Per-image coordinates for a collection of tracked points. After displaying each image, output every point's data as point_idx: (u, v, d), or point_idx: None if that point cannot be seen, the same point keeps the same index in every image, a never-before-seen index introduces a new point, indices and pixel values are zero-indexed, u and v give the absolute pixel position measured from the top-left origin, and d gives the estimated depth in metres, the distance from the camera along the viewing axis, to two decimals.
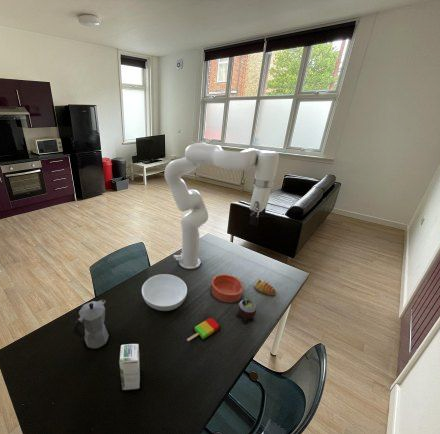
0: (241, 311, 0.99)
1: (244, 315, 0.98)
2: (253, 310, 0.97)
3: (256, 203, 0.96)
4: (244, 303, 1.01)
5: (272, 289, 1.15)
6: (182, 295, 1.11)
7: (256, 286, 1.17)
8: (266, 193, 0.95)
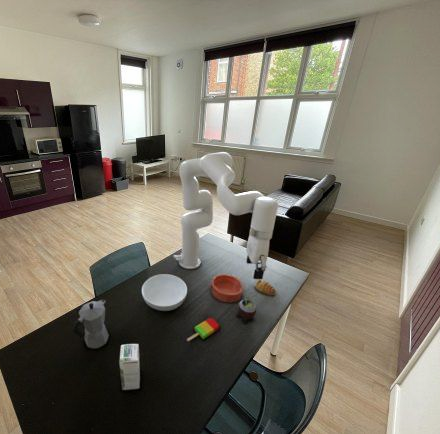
0: (241, 311, 0.99)
1: (244, 315, 0.98)
2: (253, 310, 0.97)
3: (262, 257, 0.84)
4: (244, 303, 1.01)
5: (272, 289, 1.15)
6: (182, 295, 1.11)
7: (256, 286, 1.17)
8: None
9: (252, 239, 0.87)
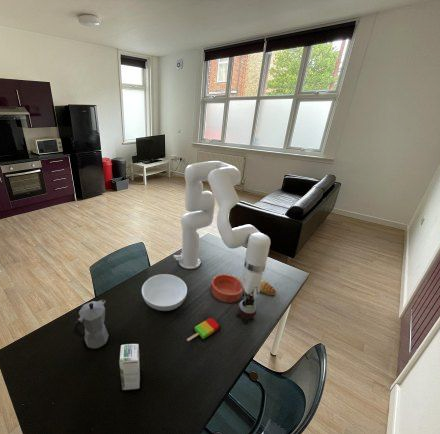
0: (241, 312, 0.98)
1: (244, 316, 0.98)
2: (253, 311, 0.97)
3: (255, 290, 0.90)
4: (244, 303, 1.00)
5: (272, 289, 1.15)
6: (182, 295, 1.11)
7: None
8: None
9: (246, 270, 0.92)
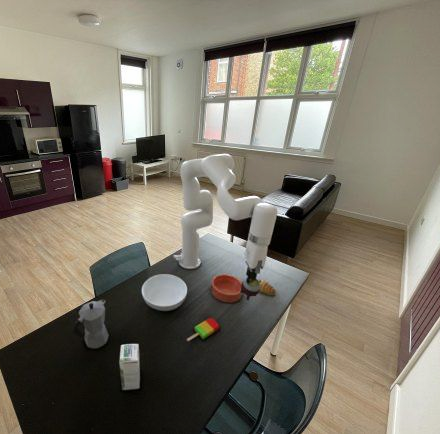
0: (245, 289, 0.93)
1: (248, 293, 0.93)
2: (258, 289, 0.92)
3: (259, 264, 0.86)
4: (248, 281, 0.95)
5: (272, 289, 1.15)
6: (182, 295, 1.11)
7: None
8: None
9: (250, 244, 0.87)
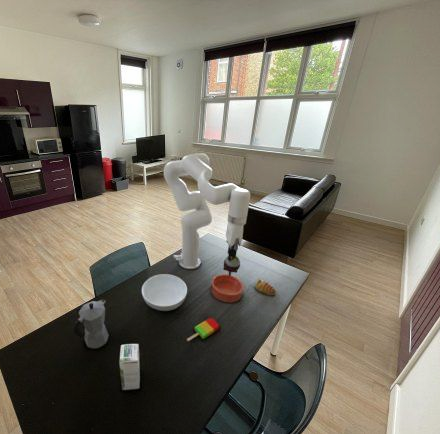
0: (226, 266, 1.06)
1: (229, 269, 1.06)
2: (237, 265, 1.05)
3: (236, 241, 0.99)
4: (229, 258, 1.08)
5: (272, 289, 1.15)
6: (182, 295, 1.11)
7: (256, 286, 1.17)
8: None
9: (229, 224, 1.01)
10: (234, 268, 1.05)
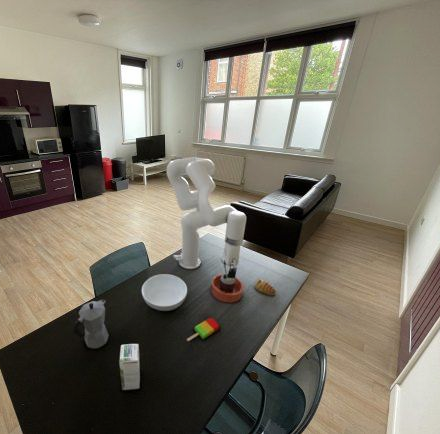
0: (222, 284, 1.13)
1: (225, 287, 1.12)
2: (232, 282, 1.12)
3: (234, 260, 1.02)
4: (225, 277, 1.15)
5: (272, 289, 1.15)
6: (182, 295, 1.11)
7: (256, 286, 1.17)
8: None
9: (226, 245, 1.05)
10: (229, 285, 1.11)
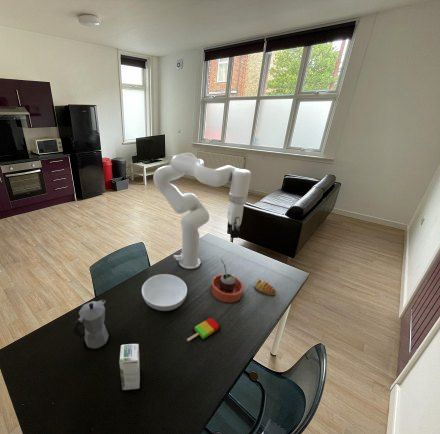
0: (222, 284, 1.13)
1: (225, 287, 1.12)
2: (232, 282, 1.12)
3: (237, 218, 1.02)
4: (225, 277, 1.15)
5: (272, 289, 1.15)
6: (182, 295, 1.11)
7: (256, 286, 1.17)
8: None
9: (230, 204, 1.05)
10: (229, 285, 1.11)
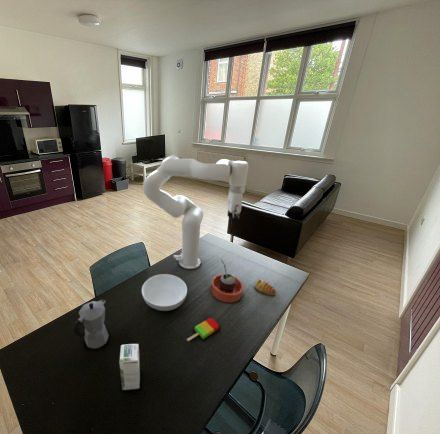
0: (222, 284, 1.13)
1: (225, 287, 1.12)
2: (232, 282, 1.12)
3: (237, 206, 1.11)
4: (225, 277, 1.15)
5: (272, 289, 1.15)
6: (182, 295, 1.11)
7: (256, 286, 1.17)
8: None
9: (230, 194, 1.14)
10: (229, 285, 1.11)
